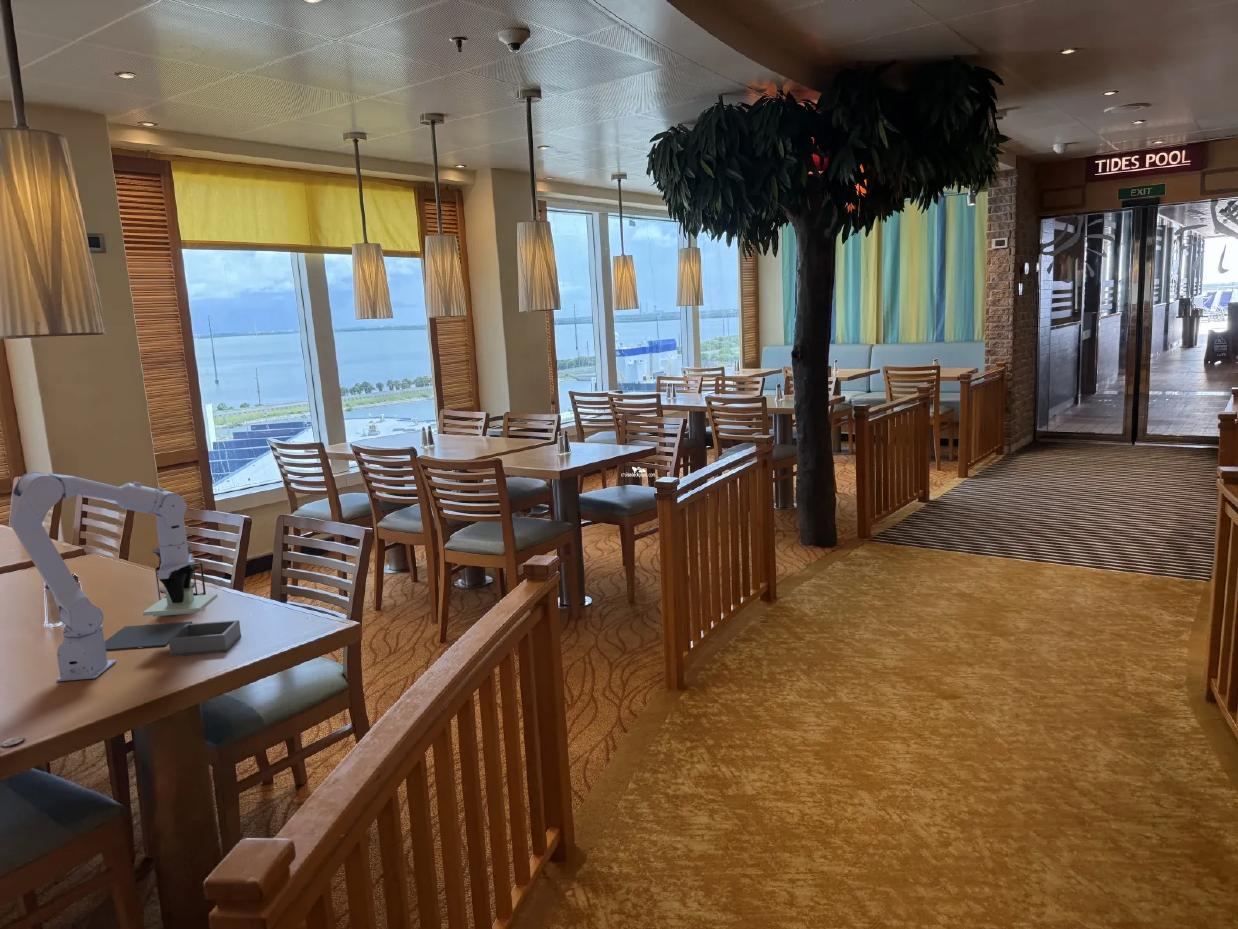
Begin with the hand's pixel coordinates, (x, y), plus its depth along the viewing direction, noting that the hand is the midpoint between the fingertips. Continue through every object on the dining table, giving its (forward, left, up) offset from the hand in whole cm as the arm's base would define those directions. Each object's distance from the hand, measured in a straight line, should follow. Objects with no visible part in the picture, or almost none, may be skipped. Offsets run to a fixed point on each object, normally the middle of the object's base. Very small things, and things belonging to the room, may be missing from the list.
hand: (180, 600), depth 198 cm
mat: (+7, +12, -10) cm, 17 cm away
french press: (+27, +11, -11) cm, 31 cm away
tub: (-3, -6, -10) cm, 12 cm away
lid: (0, 0, -2) cm, 2 cm away
